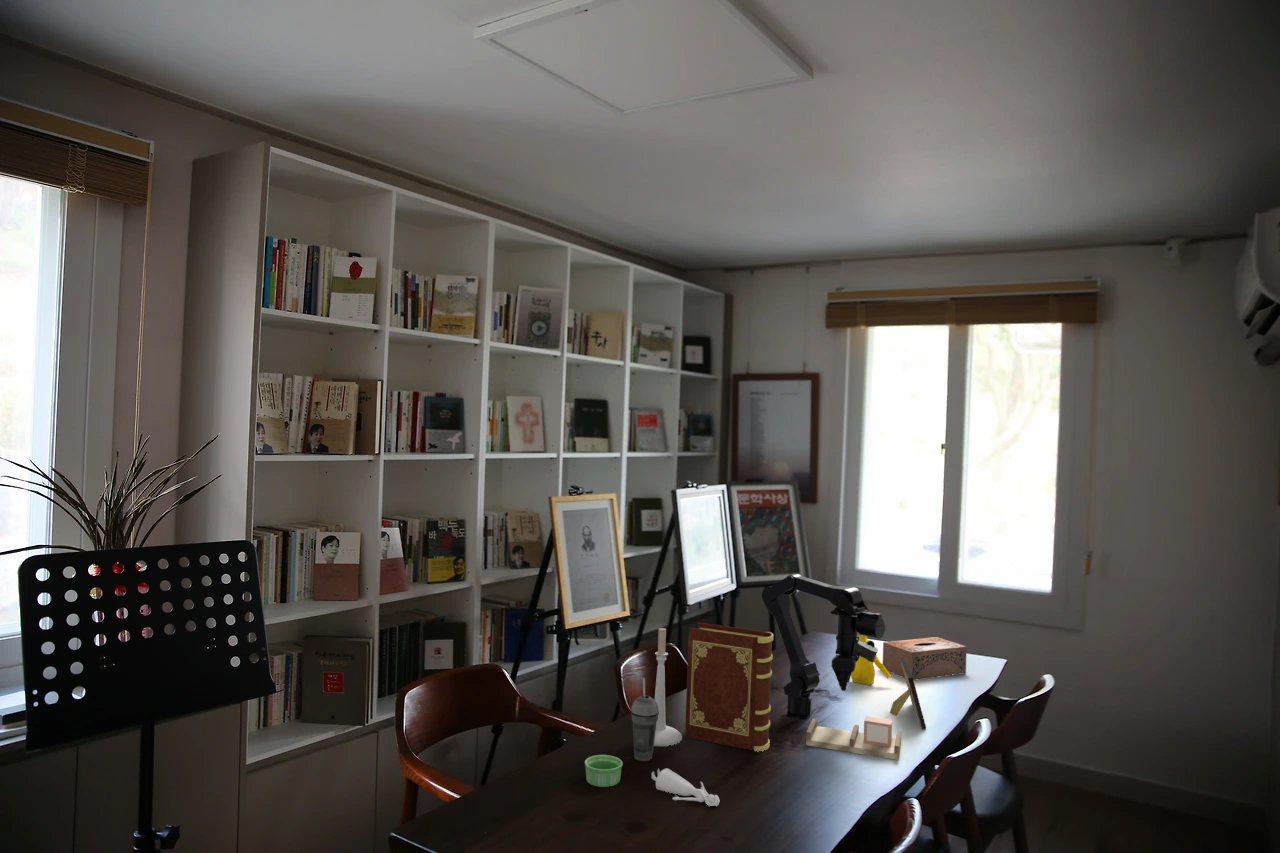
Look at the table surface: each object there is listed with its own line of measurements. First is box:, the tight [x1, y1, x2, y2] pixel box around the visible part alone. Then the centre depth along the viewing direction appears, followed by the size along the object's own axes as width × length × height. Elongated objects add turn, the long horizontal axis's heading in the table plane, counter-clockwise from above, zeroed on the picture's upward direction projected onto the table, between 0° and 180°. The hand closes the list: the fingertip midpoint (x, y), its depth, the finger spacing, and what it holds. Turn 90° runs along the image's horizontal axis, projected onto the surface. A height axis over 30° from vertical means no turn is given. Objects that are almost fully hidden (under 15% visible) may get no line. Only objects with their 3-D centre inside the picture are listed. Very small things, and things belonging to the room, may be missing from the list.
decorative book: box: [684, 622, 774, 753], centre depth 228 cm, size 22×8×30 cm, turn 65°
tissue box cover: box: [882, 636, 968, 681], centre depth 303 cm, size 26×14×10 cm, turn 115°
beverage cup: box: [630, 677, 659, 762], centre depth 214 cm, size 7×7×20 cm
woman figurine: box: [651, 768, 720, 807], centre depth 192 cm, size 12×4×18 cm
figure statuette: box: [850, 633, 892, 686], centre depth 286 cm, size 18×8×22 cm, turn 57°
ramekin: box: [584, 754, 624, 788], centre depth 199 cm, size 9×9×4 cm
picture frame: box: [889, 657, 927, 731], centre depth 254 cm, size 23×9×15 cm, turn 168°
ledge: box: [805, 718, 903, 761], centre depth 228 cm, size 24×12×4 cm, turn 70°
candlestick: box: [654, 627, 683, 747], centre depth 228 cm, size 13×13×30 cm
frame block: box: [863, 715, 893, 747], centre depth 226 cm, size 7×4×6 cm, turn 70°
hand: (845, 686), depth 240 cm, fingers open, 9 cm apart
